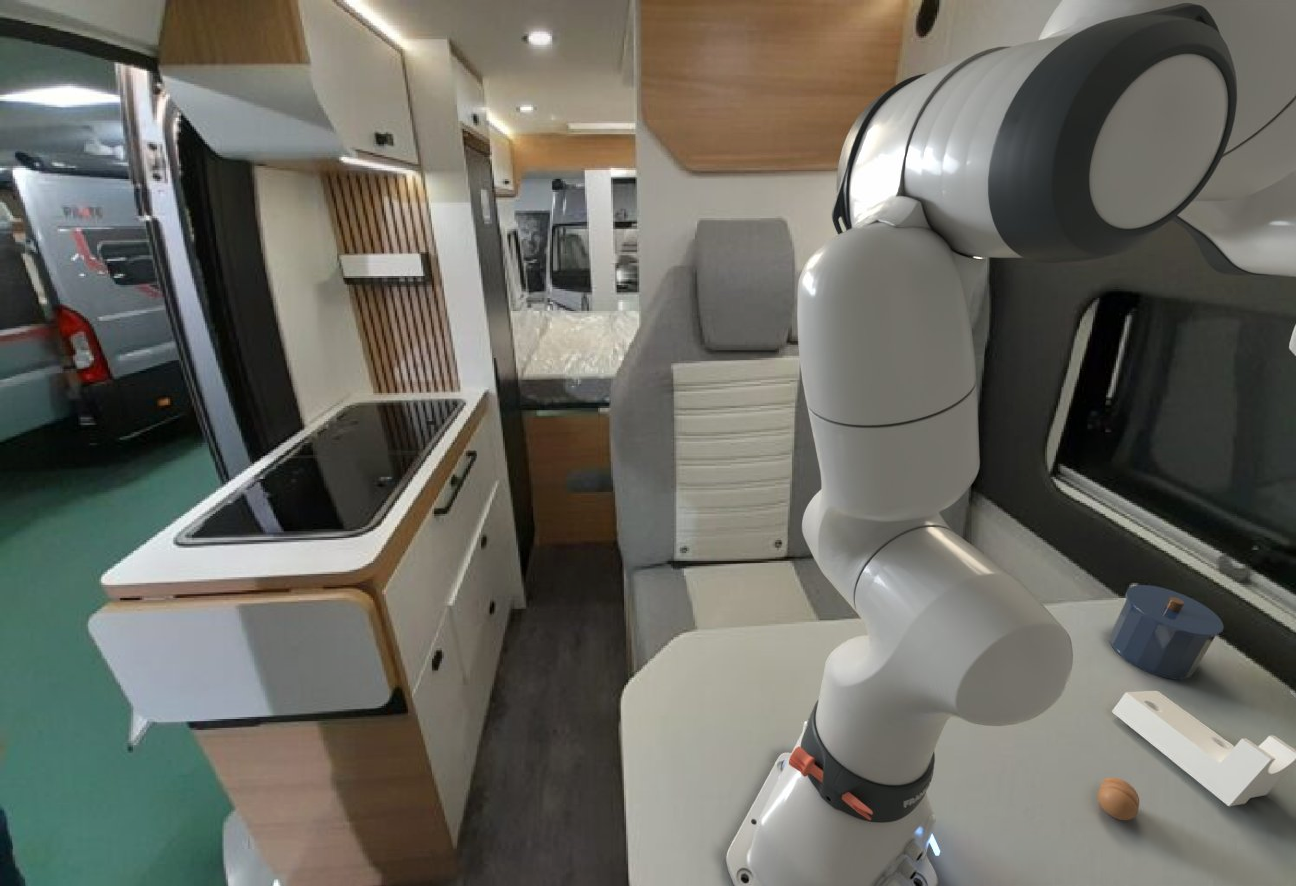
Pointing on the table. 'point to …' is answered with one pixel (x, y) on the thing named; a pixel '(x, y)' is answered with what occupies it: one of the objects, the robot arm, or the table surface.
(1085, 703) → the table surface
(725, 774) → the table surface
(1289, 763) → the bracket
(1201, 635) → the pot lid
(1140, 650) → the pot
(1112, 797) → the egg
